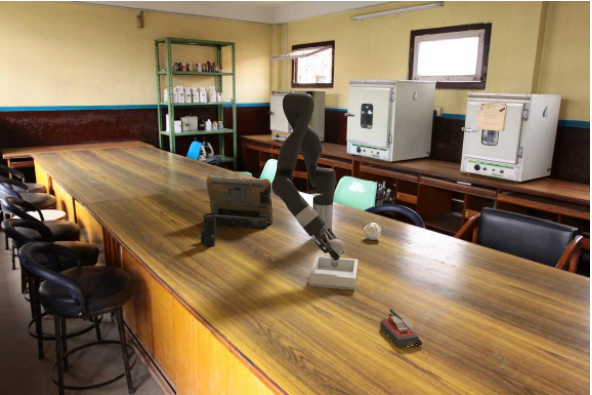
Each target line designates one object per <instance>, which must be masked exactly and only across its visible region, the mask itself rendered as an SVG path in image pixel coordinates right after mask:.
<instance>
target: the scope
mask: <svg viewBox="0 0 592 395" xmlns="http://www.w3.org/2000/svg"><path fill="white" fill-rule="evenodd" d="M202 218H203V221H202V222H203V223H202V224H203V226H202V227H203V228H202V229H201V230H200V234H199V235H197V239H199V240H200V243H201V244H204V245H205V247H207V248H213V247H215V246H216V240H215V239H216V237H217V236H218V235H217V234H218V231H217V225H216V219H215V218H216V214H214V213H211V212H209V213H207V212H206V213H204V214H203V215H202Z"/></svg>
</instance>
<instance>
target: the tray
mask: <svg viewBox="0 0 592 395" xmlns="http://www.w3.org/2000/svg"><path fill="white" fill-rule="evenodd" d="M358 266H359V258H358V259H357V258H348V257H346V258H345V257H340V258H339V262H338V267H336V268H333V267H332V266H331V260H330V256H325V255H323V256H322V255H316V256H315V259H314V262H313V265H312V268H311V270H310V272H309V281H308V282H309V285H308V286H309V287H318V288H328V289H336V288H339V290H346V289H353V290H352V291H356V284H357V276H358Z"/></svg>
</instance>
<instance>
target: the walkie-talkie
mask: <svg viewBox="0 0 592 395" xmlns="http://www.w3.org/2000/svg"><path fill="white" fill-rule="evenodd" d="M389 312H390V314H392V315H393V316H389V317H388V318H383V319H381V320H380V322H379V323H380V325H379V326H380V327H379V329H380V328H381V329H382V330H383V331H384V332H385V333H384V332H383V331H382V330H381V329H380V330H381V331H382V332H383V333H384V335H385V336H387V335H388V336H389V337H388V336H387V337H388V339H389V340H390V339H391V340H392V341H393V342H394V343H393V342H392V341H391V340H390V341H391V342H392V343H393V344H394V345H395V346H396V347H397V348H398V347H406V348H408V347H407V346H411V345H416V344H417V346H422V345H423V342H422V340H421V339H420V338H419V337H420V336H419V335H418V334H417V333H416V332H415V331H414V330H413V328H414V325H413V324H412V323H411V322H410V321H409V320H408V319H407V318H403V317H401V316H400V315H399V314H398V313H397V312H396V311H395V310H394V309H392V308H389Z"/></svg>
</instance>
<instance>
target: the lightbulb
mask: <svg viewBox="0 0 592 395" xmlns="http://www.w3.org/2000/svg"><path fill="white" fill-rule="evenodd" d="M330 242H331V244H330V245H331V247H332V248H333V250H334V251H335V252H336V253H337V254H338V255H339V256H340V257H341V256H342V255H343V254H342V252H343V251H345V245H344V243H343V241H342V240H340V239H338V238H337V239H332V240H331V241H330ZM341 254H342V255H341ZM329 257H330V260H331V266H332V267H333V268H336V267H338V262H339V259H338V260H336V261H335V260H334V259H333V258H332V257H331V255H330V254H329Z"/></svg>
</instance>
